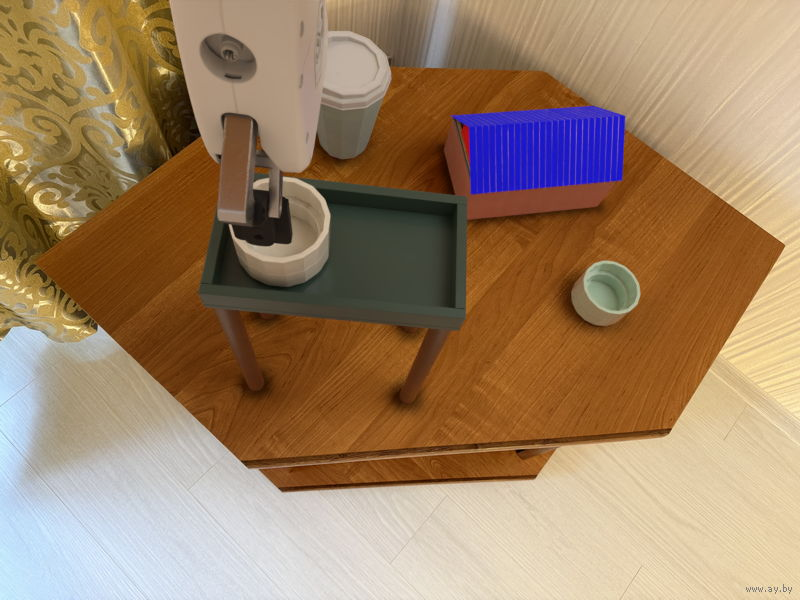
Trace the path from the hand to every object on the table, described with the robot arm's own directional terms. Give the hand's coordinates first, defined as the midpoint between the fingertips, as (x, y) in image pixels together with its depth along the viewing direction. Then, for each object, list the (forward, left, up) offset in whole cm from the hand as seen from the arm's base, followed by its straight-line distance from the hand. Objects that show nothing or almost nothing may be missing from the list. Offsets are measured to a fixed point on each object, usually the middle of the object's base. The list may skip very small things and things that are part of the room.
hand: (276, 168), depth 36 cm
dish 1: (0, 0, -11) cm, 11 cm away
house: (+28, -27, -35) cm, 52 cm away
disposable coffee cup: (+30, -2, -35) cm, 47 cm away
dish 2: (+10, -36, -35) cm, 51 cm away
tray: (0, -4, -35) cm, 36 cm away
